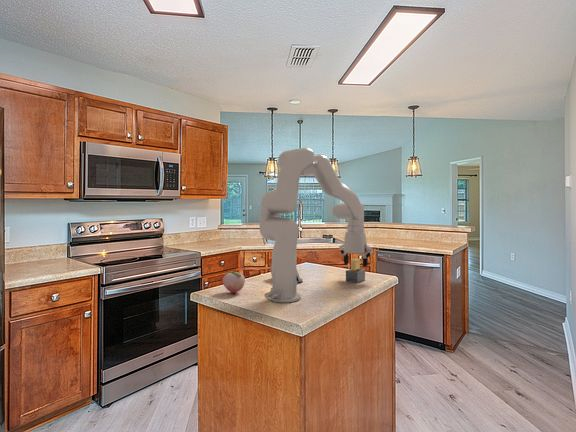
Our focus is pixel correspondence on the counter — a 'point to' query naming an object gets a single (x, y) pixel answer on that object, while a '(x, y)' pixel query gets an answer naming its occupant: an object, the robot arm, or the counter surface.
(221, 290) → the counter surface
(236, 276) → the decorative fruit
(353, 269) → the tan rectangular block
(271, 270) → the hinge
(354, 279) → the dark grey open box
